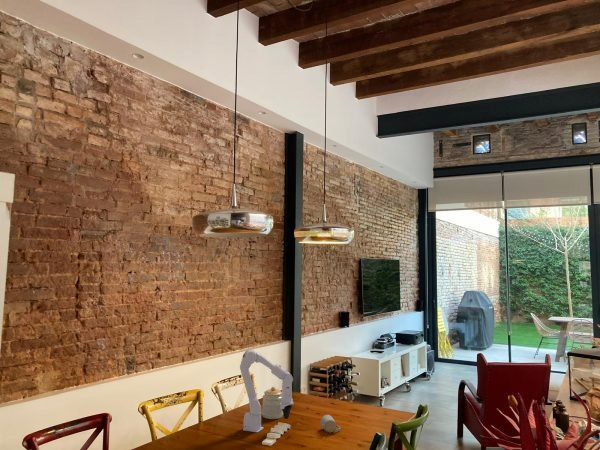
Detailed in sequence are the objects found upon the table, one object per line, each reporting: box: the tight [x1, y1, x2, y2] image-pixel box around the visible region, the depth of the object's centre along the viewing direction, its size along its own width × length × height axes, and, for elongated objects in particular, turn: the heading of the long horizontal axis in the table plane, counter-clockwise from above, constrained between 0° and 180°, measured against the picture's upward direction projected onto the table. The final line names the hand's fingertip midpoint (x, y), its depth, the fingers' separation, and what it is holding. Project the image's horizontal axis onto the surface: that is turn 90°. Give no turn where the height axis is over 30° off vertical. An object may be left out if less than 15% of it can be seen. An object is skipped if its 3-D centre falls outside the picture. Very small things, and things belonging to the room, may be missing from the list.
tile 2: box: [273, 424, 288, 432], centre depth 256 cm, size 5×2×7 cm
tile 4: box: [266, 432, 282, 440], centre depth 246 cm, size 5×2×7 cm
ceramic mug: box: [320, 414, 341, 433], centre depth 261 cm, size 11×8×8 cm
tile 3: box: [269, 427, 285, 435], centre depth 251 cm, size 5×2×7 cm
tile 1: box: [277, 421, 291, 430], centre depth 260 cm, size 5×2×7 cm
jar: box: [261, 386, 284, 420], centre depth 285 cm, size 13×13×18 cm
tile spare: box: [261, 436, 277, 447], centre depth 240 cm, size 5×2×7 cm
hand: (286, 418), depth 264 cm, fingers closed
